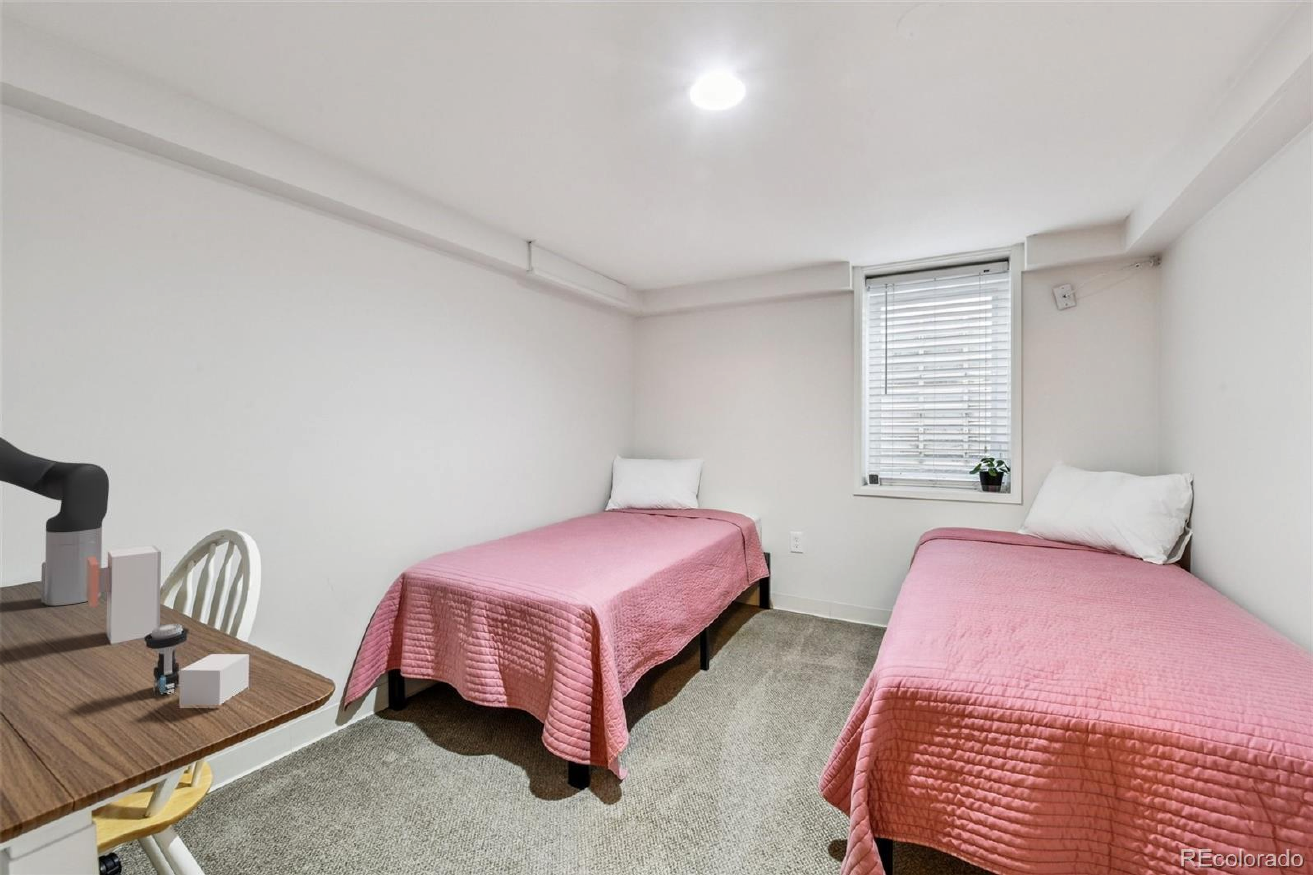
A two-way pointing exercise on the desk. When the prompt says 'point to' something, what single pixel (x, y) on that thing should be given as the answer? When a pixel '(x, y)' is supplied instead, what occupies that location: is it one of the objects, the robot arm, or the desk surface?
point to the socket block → (133, 593)
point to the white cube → (213, 679)
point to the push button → (166, 654)
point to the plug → (96, 580)
